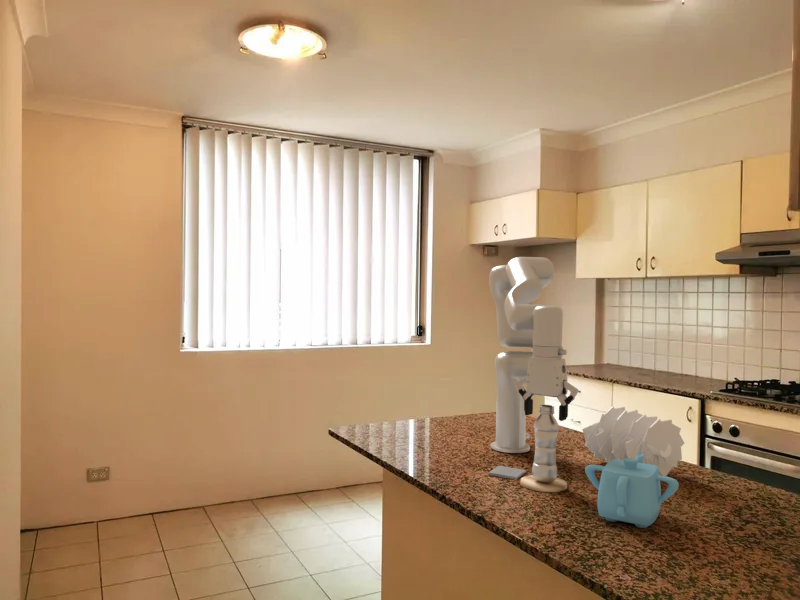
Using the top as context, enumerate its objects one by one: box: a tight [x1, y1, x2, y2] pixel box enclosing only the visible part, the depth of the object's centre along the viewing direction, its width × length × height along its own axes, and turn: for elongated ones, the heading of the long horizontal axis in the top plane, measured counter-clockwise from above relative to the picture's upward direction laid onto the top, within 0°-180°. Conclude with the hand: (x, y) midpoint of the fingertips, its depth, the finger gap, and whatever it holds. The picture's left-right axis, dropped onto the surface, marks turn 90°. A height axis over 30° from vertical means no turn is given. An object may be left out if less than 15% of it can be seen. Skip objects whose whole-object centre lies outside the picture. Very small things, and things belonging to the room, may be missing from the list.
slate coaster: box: [488, 465, 527, 481], centre depth 169 cm, size 8×8×1 cm
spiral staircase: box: [582, 406, 685, 477], centre depth 175 cm, size 18×18×25 cm
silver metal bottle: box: [531, 404, 559, 482], centre depth 160 cm, size 6×7×20 cm
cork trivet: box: [520, 474, 568, 493], centre depth 160 cm, size 12×12×1 cm
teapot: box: [584, 453, 680, 529], centre depth 138 cm, size 18×16×14 cm
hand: (545, 417), depth 160 cm, fingers open, 9 cm apart
